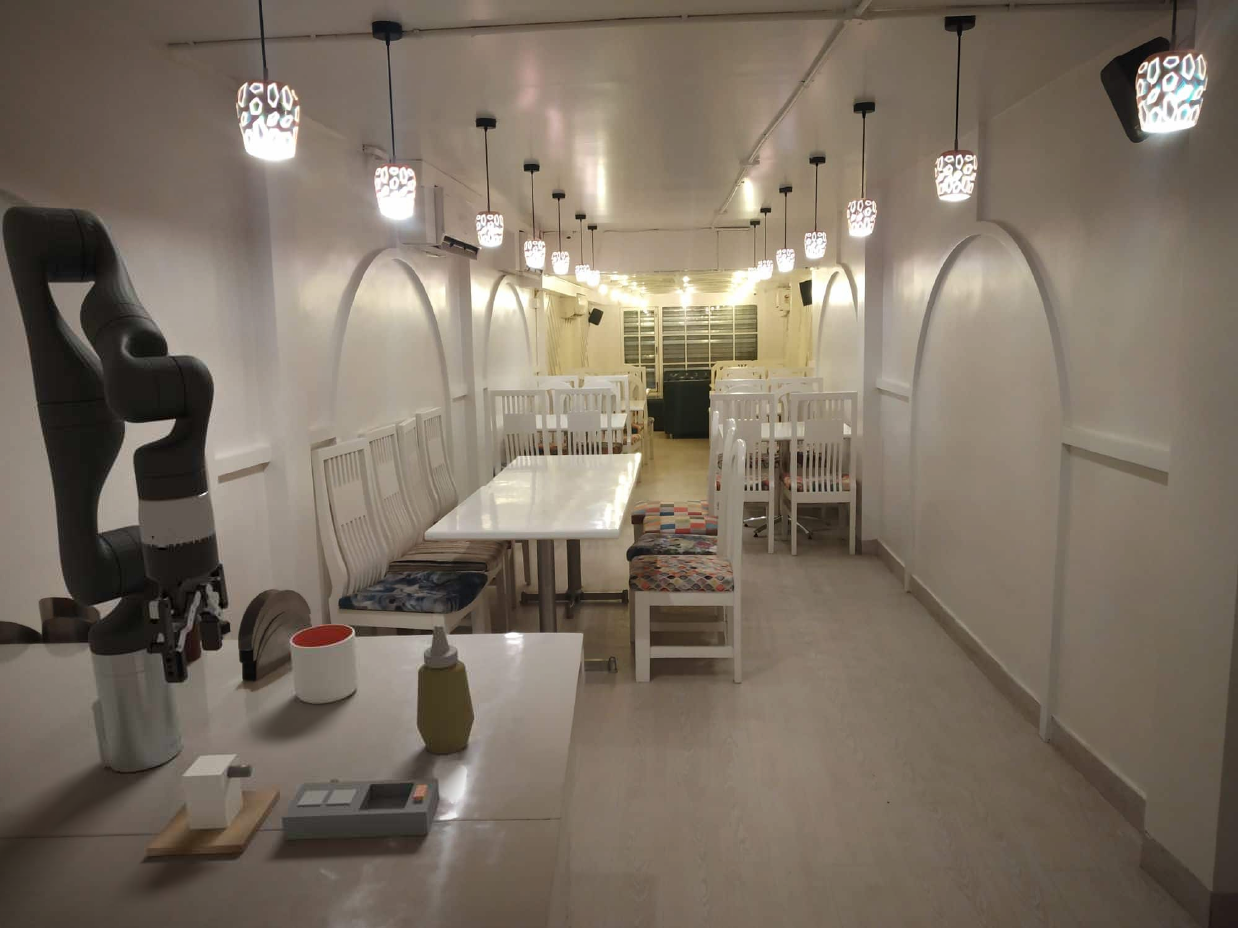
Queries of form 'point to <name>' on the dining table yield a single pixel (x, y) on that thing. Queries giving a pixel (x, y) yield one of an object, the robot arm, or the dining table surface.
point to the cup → (324, 663)
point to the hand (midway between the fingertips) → (195, 664)
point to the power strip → (361, 809)
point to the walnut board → (216, 829)
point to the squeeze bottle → (443, 698)
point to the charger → (214, 790)
